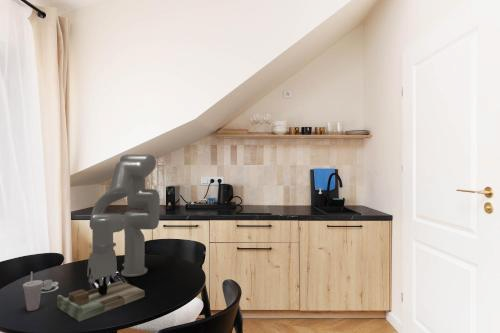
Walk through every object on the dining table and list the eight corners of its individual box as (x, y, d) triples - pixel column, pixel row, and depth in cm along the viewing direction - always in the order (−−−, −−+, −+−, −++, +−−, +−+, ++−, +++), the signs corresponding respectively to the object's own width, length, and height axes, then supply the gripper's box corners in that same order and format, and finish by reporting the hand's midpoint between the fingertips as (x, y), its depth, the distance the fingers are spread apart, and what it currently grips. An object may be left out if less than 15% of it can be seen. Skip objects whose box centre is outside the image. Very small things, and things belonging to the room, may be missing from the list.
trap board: (57, 307, 118) (57, 295, 118) (120, 286, 139) (120, 276, 139) (79, 321, 107) (79, 308, 107) (144, 296, 128) (144, 285, 128)
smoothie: (29, 305, 120) (29, 269, 120) (46, 304, 120) (47, 268, 120) (18, 312, 113) (18, 274, 113) (36, 312, 114) (37, 274, 114)
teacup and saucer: (55, 284, 141) (55, 275, 141) (63, 288, 137) (63, 279, 137) (33, 291, 134) (33, 281, 134) (41, 295, 130) (41, 285, 130)
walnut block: (68, 304, 115) (68, 293, 115) (82, 299, 119) (82, 289, 119) (74, 307, 112) (74, 296, 112) (88, 303, 116) (88, 292, 116)
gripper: (115, 243, 131) (115, 286, 131) (79, 250, 119) (78, 298, 119) (125, 246, 127) (125, 290, 127) (88, 254, 115) (88, 303, 115)
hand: (102, 294), depth 123 cm, fingers closed
